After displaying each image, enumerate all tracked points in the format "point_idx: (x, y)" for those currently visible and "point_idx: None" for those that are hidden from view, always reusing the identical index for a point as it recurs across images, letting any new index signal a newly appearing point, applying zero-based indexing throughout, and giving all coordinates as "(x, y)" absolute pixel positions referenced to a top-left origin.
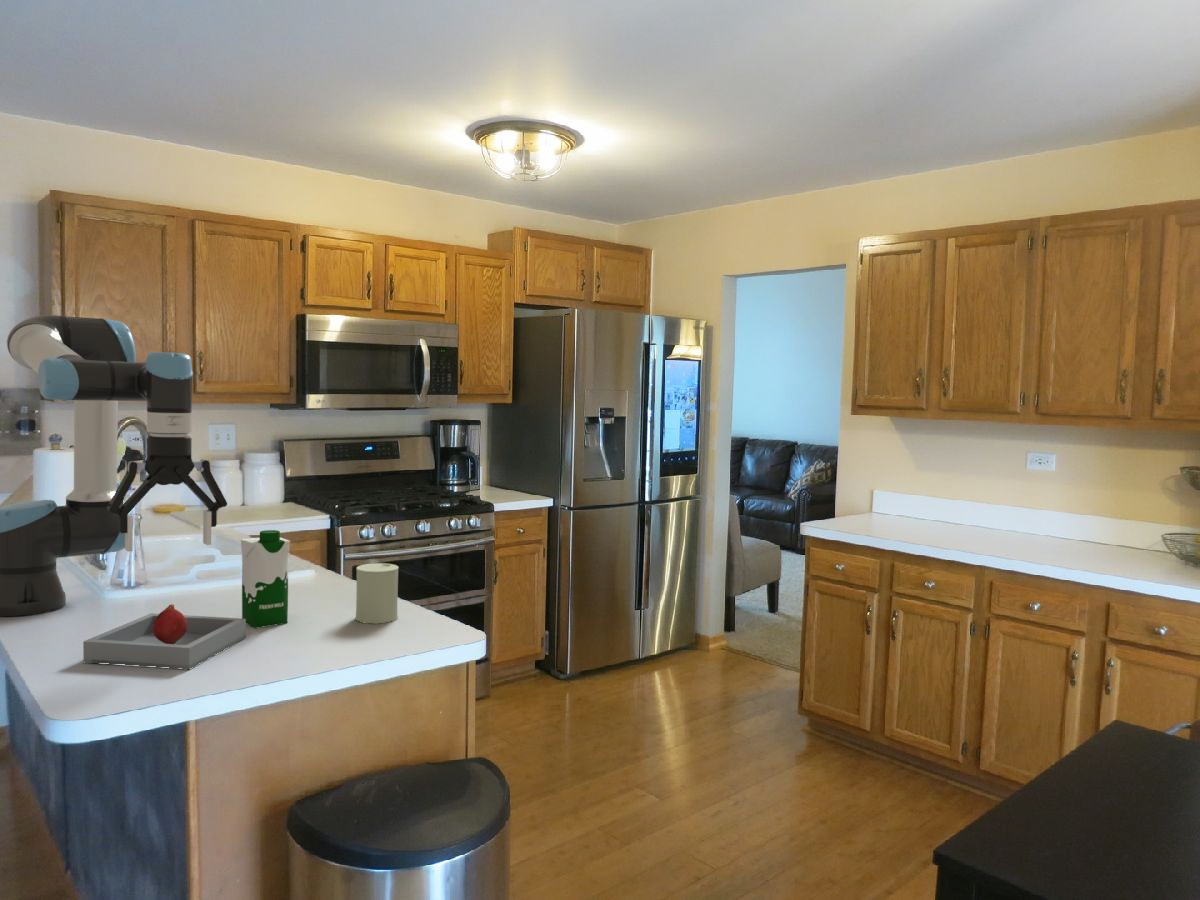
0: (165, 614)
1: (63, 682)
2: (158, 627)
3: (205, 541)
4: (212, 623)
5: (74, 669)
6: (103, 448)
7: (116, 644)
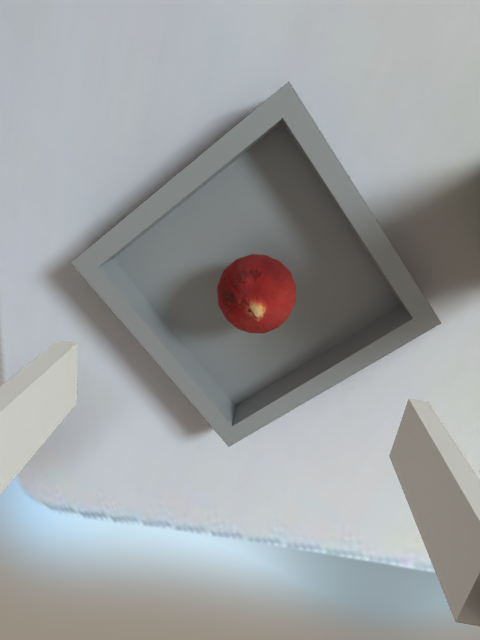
0: (237, 317)
1: (44, 342)
2: (221, 310)
3: (400, 442)
4: (377, 265)
5: (71, 280)
6: None
7: (126, 324)
